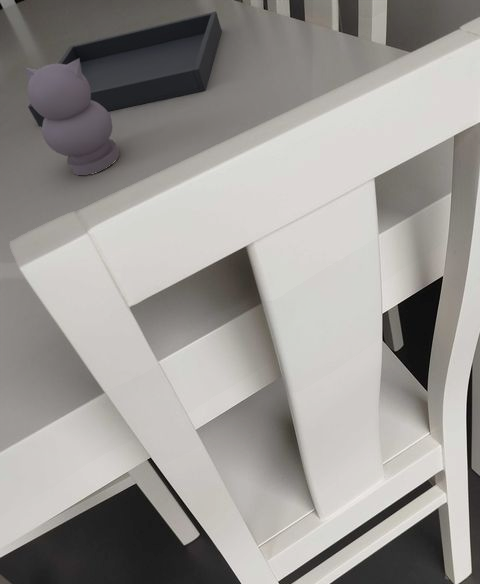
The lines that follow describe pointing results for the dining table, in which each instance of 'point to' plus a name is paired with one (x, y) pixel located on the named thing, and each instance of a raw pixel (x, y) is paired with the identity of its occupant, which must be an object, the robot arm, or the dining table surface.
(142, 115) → the dining table surface
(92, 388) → the dining table surface
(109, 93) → the tray
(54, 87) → the cat figurine
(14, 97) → the dining table surface
